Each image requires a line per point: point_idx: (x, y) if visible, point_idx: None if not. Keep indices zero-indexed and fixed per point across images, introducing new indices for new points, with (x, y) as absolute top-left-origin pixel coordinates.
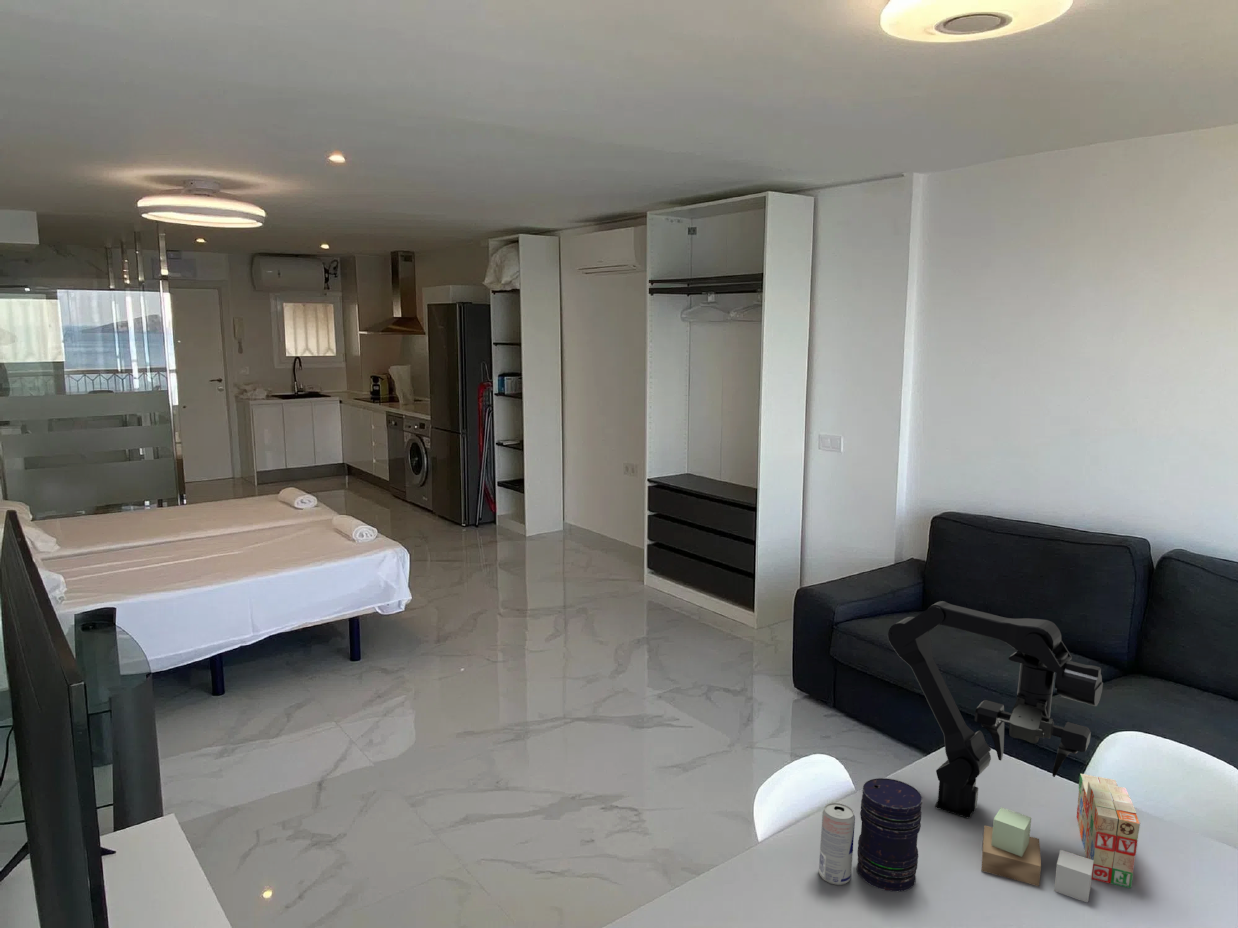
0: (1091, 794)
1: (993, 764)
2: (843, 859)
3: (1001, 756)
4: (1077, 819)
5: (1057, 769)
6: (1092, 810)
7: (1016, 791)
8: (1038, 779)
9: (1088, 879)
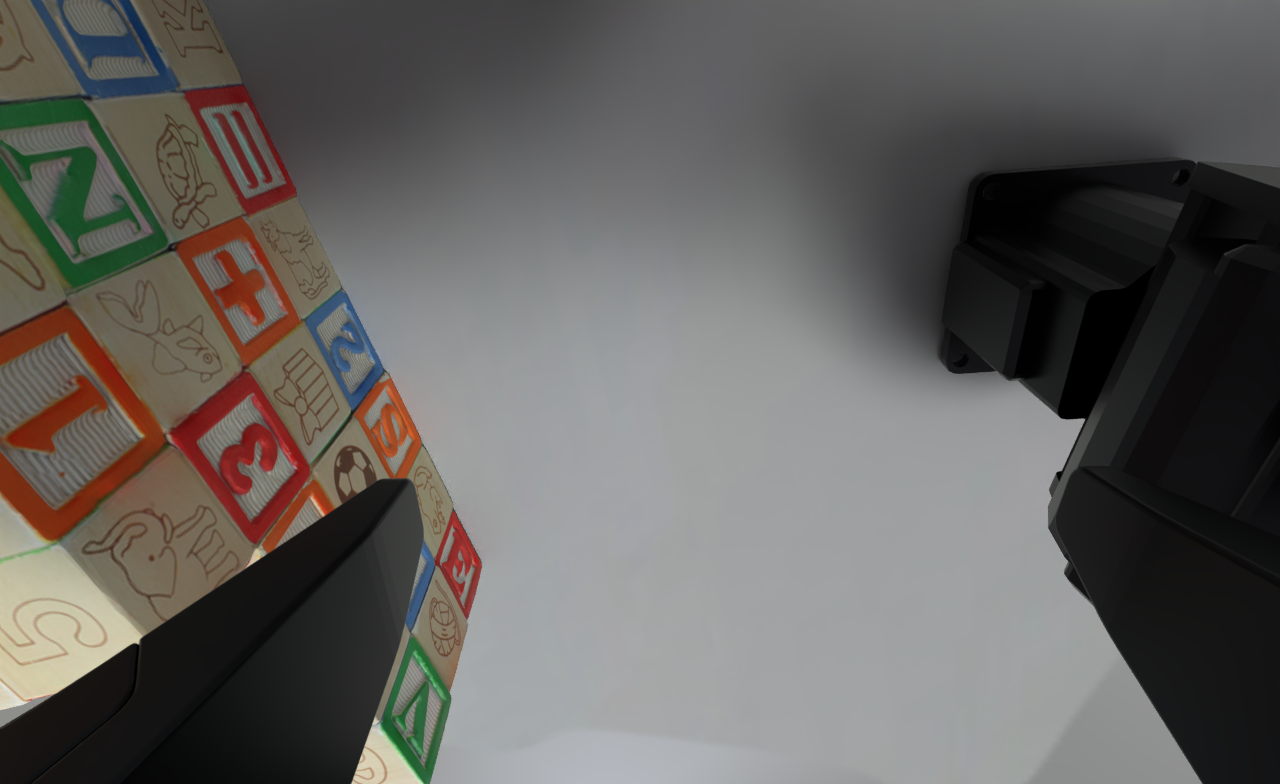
0: (82, 492)
1: (880, 735)
2: None
3: (1108, 507)
4: (469, 542)
5: (286, 543)
6: (9, 274)
7: (761, 602)
8: (694, 732)
9: None
